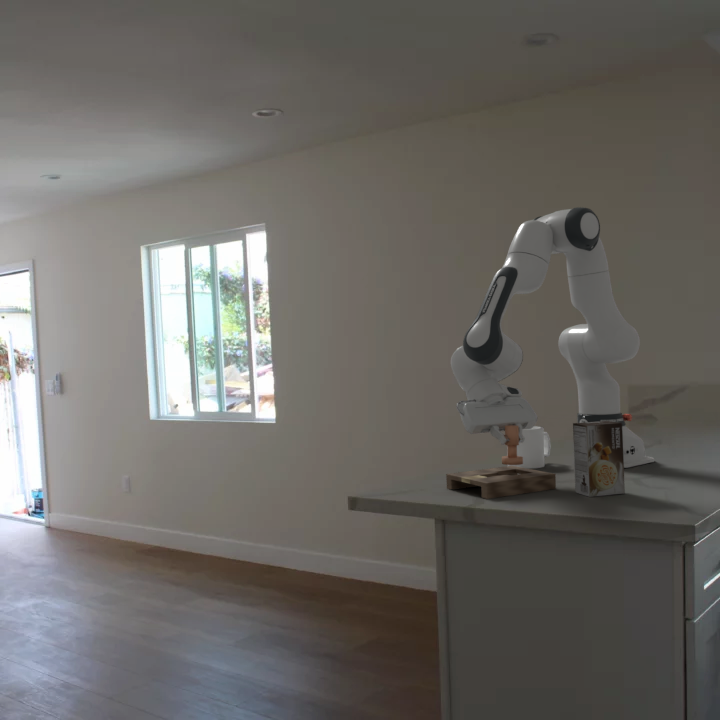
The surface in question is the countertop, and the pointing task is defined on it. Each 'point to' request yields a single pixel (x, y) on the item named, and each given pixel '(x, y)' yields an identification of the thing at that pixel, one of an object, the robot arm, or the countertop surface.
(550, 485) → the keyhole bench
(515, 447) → the peg
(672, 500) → the countertop surface
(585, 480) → the coffee box
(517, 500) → the countertop surface
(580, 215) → the robot arm
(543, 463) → the mug
